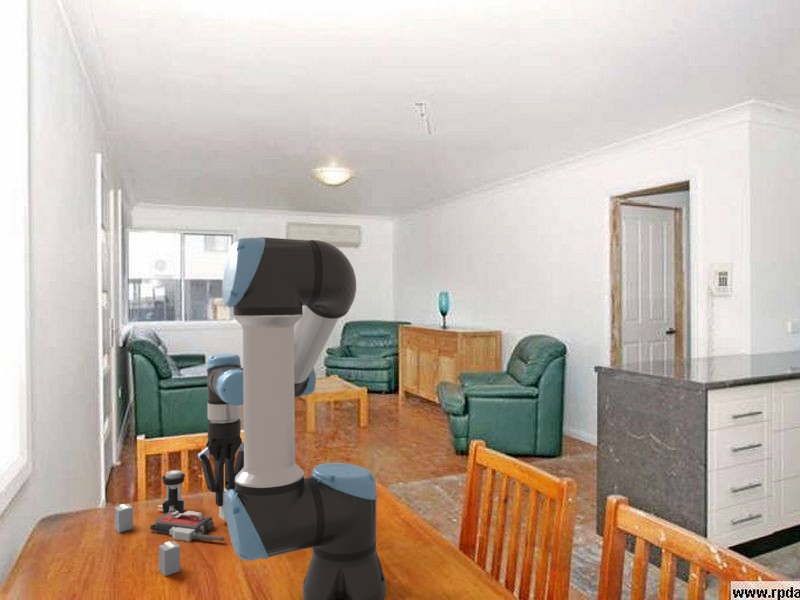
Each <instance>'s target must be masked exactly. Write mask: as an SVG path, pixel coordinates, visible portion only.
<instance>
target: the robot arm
mask: <svg viewBox="0 0 800 600" xmlns="http://www.w3.org/2000/svg"><path fill="white" fill-rule="evenodd" d="M221 290H222V291H221V292H222V302H223V304H224V305H225V306H226V307H228V308H232V309H233V310H232V311H233V312H232V313H233V318H234V319H235V321H236V322H238V323H239V324H240V325H241V327H242V365H241V358H240V355H238V354H235V353H221V354H219V353H218V354H211V355H210V356H209V357H208V358H207V365H206V366H207V368H206V375H207V377H206V378H207V380H206V381H207V383H206V384H207V419H208V421H207V442H206V444H205V448H204V449H203V450H202V451H198V452H197V453H196V457H197V459H198V460H199V462H200V464H201V469H202V472H203V476H204V480H205V484H206V488H207V490H208V491H210V492H212V493H215V504H216V505H215V506H217V507H218V517H219V518H220V519H221V520H223V521H226V524H227V531H228V533H229V534H228V535H229V538H230V542H231V544H232V547H233V550H234V552H235V554H236V556H237V557H238V558H239V559H240V560H242V561H246V562H250V561H254V560H255V561H256V560H261V559H264V560H268V559H269V558H273V557H276V556H280V555H284V554H289V553H293V552H296V551H297V552H298V551H301V550H305V549H309V548H312V554H311V558H310V561H309V563H308V564H309V565H308V568H307V572H306V575H305V578H304V580H303V584H302V597H303V598H302V600H384V599H385V597H386V593H387V592H386V589H387V588H386V586H387V581H386V577H385V573H384V572H383V571H384V570H383V567H382V564H381V561H380V557H379V555H378V551H377V501H378V500H377V499H378V494H377V484H376V478H375V475H374V474H373V473H372V471H370V470H368V469H367V468H365V467H362V466H359V465H356V464H351V463H345V462H344V463H343V462H325V463H320V464H317V465H315V466H314V467H313V469H312V471H311V476H310V477H305V472H304V470H303V469H302V468H301V467H300V466H299V465H298V464H297V463H296V437H295V436H296V431H295V430H296V428H295V427H296V424H295V423H296V422H295V419H296V418H295V416H296V414H295V413H296V412H295V398H300V397H302V396H309V395H312V394H313V393H314V391H315V388H316V384H317V377H316V371H315V368H314V367H315V365H316V363H317V362H318V360H319V357H321V354H322V351H323V350H324V348H325V345H326V344H327V342H328V341H329V339H330V337H331V334H332V332H333V331H334V328H336V325H337V322H338V321H339V319H341V318H343V317H345V316H346V315H347V314H348V313H349V311H350V309H351V306H352V305H353V303H354V301H355V297H356V292H357V278H356V273H355V270H354V268H353V266H352V264H351V262H350V260H349V259H348V257H347V256H346V255H345V254H344V252H343V251H341V249H339V248H338V247H336V246H335V245H333V244H331V243H329V242H326V241H322V240H317V239H310V240H308V239H293V238H289V239H288V238H279V237H263V236H262V237H261V236H260V237H242V238H239V239H237V240H236V241H234V242H233V243H232V244H231V247H230V249H229V251H228V253H227V257H226V260H225V264H224V269H223V277H222V286H221ZM241 406H242V408H243V409H242V410H243V440H242V438H241V431H242V429H241V425H242V422H241V421H242V420H240V418H241V415H242V412H241ZM237 451H238V452H237ZM236 453H237V455H236ZM210 455H211V456H212V457H213V463H214V473H213V467H212V464H211V461H210V458H211V457H210Z"/></svg>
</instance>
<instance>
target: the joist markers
mask: <svg viewBox="0 0 800 600" xmlns="http://www.w3.org/2000/svg"><path fill="white" fill-rule="evenodd" d="M133 511H134V510H133V506H132V505H130V504H129V503H127V504H125V503H122V504H119V506H115V507H114V530H116V531H117V532H118V533H123V531H124V532H126V530H127V531H130V530H133V529H134V523H133V522H134V512H133ZM158 564H159V565H158V571H159V572H160V573H161V574H162V575H163V576H164V577H167V576H170V575H172V574H175V573H178V572H181V546H180V544H178V543H177V542H176V540H175V541H170V540H168V541H166V542H164V543H163V544H160V545H158Z"/></svg>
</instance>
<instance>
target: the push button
mask: <svg viewBox="0 0 800 600" xmlns="http://www.w3.org/2000/svg"><path fill="white" fill-rule="evenodd" d="M185 477H186V474H185V473H183V472H182V470H180V469H171V470H169V471H167V472H165V474H164V475H162V477H161V479H162V484H163V485H165V491H166V492H165V496H166V497H165V501H164V502H162V504H161V505H160V504H159V505H157V507H158V508H157V511H162V513H163V514H166V513H168V512H176V511H179V512H178V513H184V511H185V500H184V499H183V497H182V483H184V482H185ZM160 507H161V508H160Z"/></svg>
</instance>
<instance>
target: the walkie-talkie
mask: <svg viewBox="0 0 800 600" xmlns="http://www.w3.org/2000/svg"><path fill="white" fill-rule="evenodd" d="M178 512H179V511H176V512H168V513H164V514H163V515H161V516H160V517H158V518H157V519H156V520H155V524H151V525H149V530H150V531H155V533H156V534H157V533H158V534H164V535H169V536H171V537H172V539H174V540H175V541H176V540H177V541H183V542H184V541H185V542H189V543H190V542H191V541H193V540H201V541H210V542H211V541H220V542H224V541H225V538H224V537H223V536H216V535H209V534H204V533H205V532H207V531H211V530H212V529H213V527H214V521H213V517H212V516H208V515H205V514H204V513H203V512H201V511H194V510H187V511H185V512H182V513H178Z"/></svg>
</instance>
